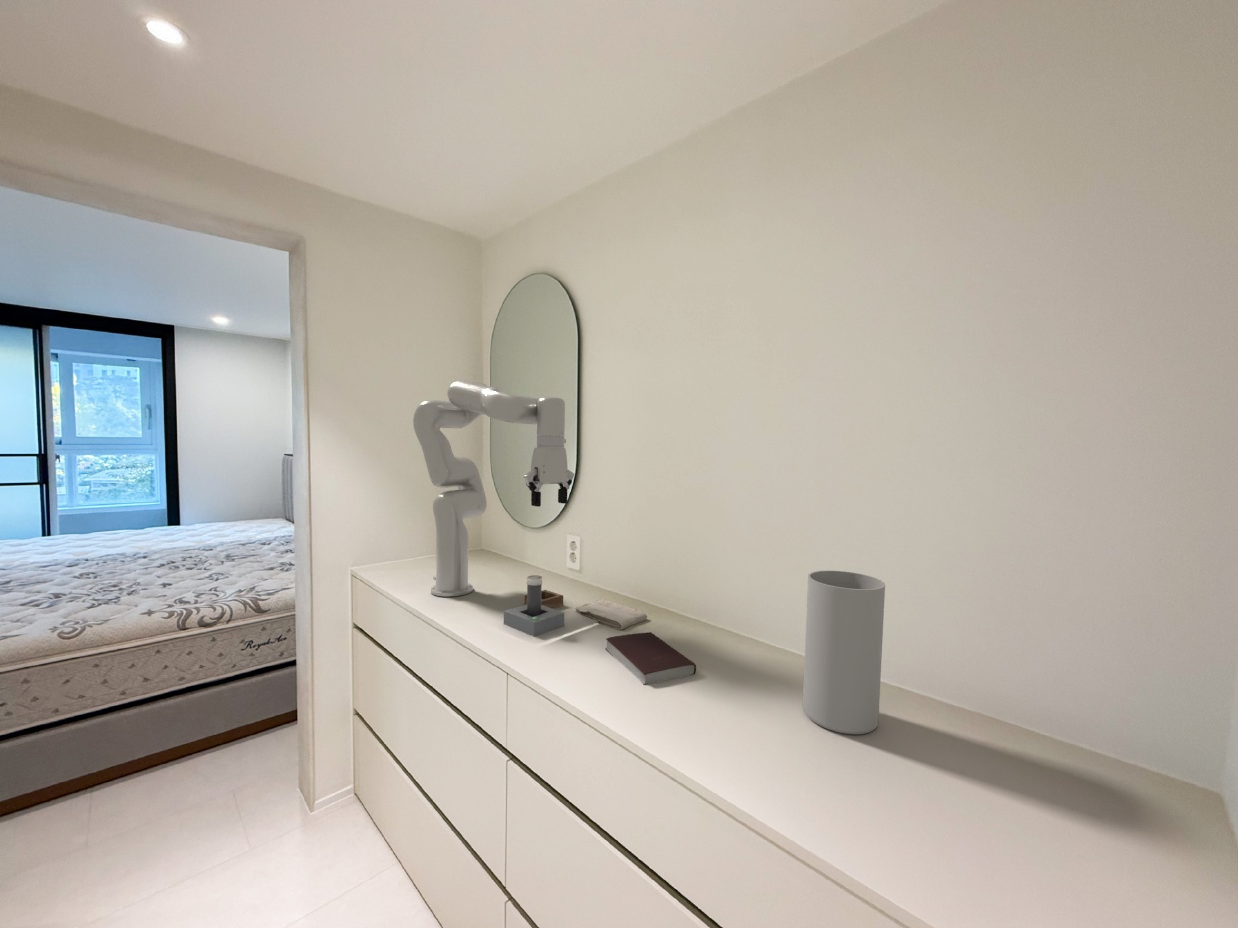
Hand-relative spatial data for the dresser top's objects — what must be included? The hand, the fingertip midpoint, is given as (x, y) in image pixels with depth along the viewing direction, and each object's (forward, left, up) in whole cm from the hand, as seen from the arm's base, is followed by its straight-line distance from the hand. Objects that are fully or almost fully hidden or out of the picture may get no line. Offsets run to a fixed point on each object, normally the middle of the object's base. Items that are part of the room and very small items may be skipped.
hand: (549, 504), depth 144 cm
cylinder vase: (+79, 0, -31) cm, 85 cm away
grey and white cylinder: (+6, -10, -29) cm, 32 cm away
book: (+40, -5, -31) cm, 51 cm away
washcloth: (+15, +10, -31) cm, 36 cm away
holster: (-4, +2, -30) cm, 31 cm away
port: (+6, -10, -30) cm, 32 cm away
